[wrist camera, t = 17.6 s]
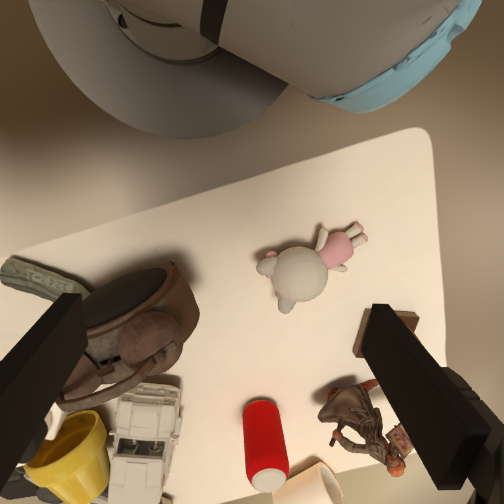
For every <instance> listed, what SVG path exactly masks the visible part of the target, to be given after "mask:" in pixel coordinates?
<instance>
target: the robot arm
mask: <svg viewBox="0 0 504 504" xmlns="http://www.w3.org/2000/svg"><path fill="white" fill-rule="evenodd" d="M104 2H105V5H106V7H107V9H108V11H109V13H110V15H111V17H112V19H113V20H114V22H115V24H116V25H117V26H118V28H119V29H120V31H121V32H122V33H123V34H124V35H125V36H126V38H127V39H128V40H129V41H130V42H131V43H133V44H134V45H135V46H136V47H137V48H139V49H140V50H141V51H143V52H144V53H145V54H147V55H149V56H150V57H152V58H154V59H156V60H159V61H161V62H164V63H168V64H172V65H193V64H198V63H201V62H204V61H206V60H208V59H210V58H212V57H214V56H215V55H217V54H218V53H219V52H221V51H222V50H223V49H225V50H227V51H229V52H231V53H233V54H235V55H237V56H238V57H240V58H242V59H244V60H246V61H248V62H250V63H251V64H253V65H255V66H257V67H259V68H261V69H263V70H264V71H266V72H268V73H270V74H272V75H274V76H276V77H277V78H279V79H281V80H283V81H285V82H287V83H289V84H291V85H292V86H295V87H296V88H298V89H300V90H302V91H303V92H305V93H306V94H307V95H308V96H309V97H311V98H312V99H313V100H318V101H319V102H326V103H329V104H331V105H333V106H335V107H337V108H339V109H342V110H344V111H346V112H350V113H358V114H361V113H367V112H372V111H375V110H378V109H380V108H382V107H384V106H386V105H388V104H390V103H392V102H393V101H395V100H397V99H398V98H400V97H401V96H402V95H404V94H405V93H407V92H408V91H409V90H410V89H412V88H413V87H414V86H415V85H416V84H418V83H419V82H420V81H421V80H422V79H423V78H424V77H425V76H426V75H427V74H428V73H430V72H431V71H432V70H433V69H434V68H435V67H436V65H437V64H438V63H439V62H440V61H441V60H442V59H443V58H444V56H445V55H446V54H447V53H448V52H449V50H450V49H451V44H450V43H451V40H452V39H454V38H455V37H456V36H457V35H458V34H460V33H462V32H463V31H464V30H465V29H466V28H467V26H468V25H469V23H470V22H471V20H472V19H473V17H474V15H475V13H476V12H477V10H478V8H479V6H480V4H481V2H482V0H104ZM88 345H89V344H88V337H87V330H86V322H85V315H84V308H83V300H82V293H62V294H61V295H60V296H59V297H58V299H57V300H56V301H55V302H54V303H53V304H52V305H51V306H50V307H49V309H48V310H47V311H46V312H45V313H44V314H43V315H42V316H41V317H40V318H39V320H38V321H37V322H36V323H35V324H34V325H33V326H32V327H31V328H30V330H29V331H28V332H27V333H26V334H25V335H24V336H23V337H22V338H21V340H20V341H19V342H18V343H17V344H16V345H15V346H14V347H13V348H12V349H11V351H10V352H9V353H8V354H7V355H6V356H5V357H4V358H3V359H2V361H0V493H1V492H2V490H3V488H4V487H5V485H6V483H7V482H8V480H9V478H10V477H11V475H12V473H13V471H14V470H15V468H16V466H17V465H18V463H19V461H20V460H21V458H22V456H23V455H24V453H25V451H26V450H27V448H28V446H29V444H30V443H31V441H32V439H33V438H34V436H35V434H36V433H37V431H38V429H39V428H40V426H41V424H42V423H43V421H44V419H45V417H46V416H47V414H48V412H49V411H50V409H51V407H52V406H53V404H54V402H55V401H56V399H57V397H58V396H59V394H60V392H61V390H62V389H63V387H64V385H65V384H66V382H67V380H68V379H69V377H70V375H71V374H72V372H73V370H74V369H75V367H76V365H77V363H78V362H79V360H80V358H81V357H82V355H83V353H84V352H85V350H86V348H87V347H88ZM360 351H361V353H362V354H363V356H364V358H365V360H366V362H367V363H368V365H369V367H370V369H371V371H372V372H373V374H374V376H375V378H376V380H377V381H378V383H379V385H380V387H381V389H382V390H383V392H384V394H385V396H386V398H387V399H388V401H389V403H390V405H391V407H392V408H393V410H394V412H395V414H396V416H397V417H398V419H399V421H400V423H401V424H402V426H403V428H404V430H405V432H406V433H407V435H408V437H409V439H410V441H411V442H412V444H413V446H414V448H415V450H416V451H417V453H418V455H419V457H420V458H421V460H422V462H423V464H424V466H425V468H426V469H427V471H428V473H429V475H430V476H431V478H432V480H433V482H434V484H435V486H436V487H437V489H438V490H461V488H462V486H463V484H464V482H465V480H466V478H467V477H468V479H469V480H470V482H471V483H472V485H473V487H474V488H475V490H474V492H473V494H472V496H471V497H470V499H469V501H468V503H467V504H504V424H503V423H502V422H501V421H500V420H499V419H498V418H497V416H496V415H495V414H494V413H493V412H492V411H491V410H490V408H489V407H488V406H487V405H486V404H485V403H484V402H483V401H482V400H480V397H479V396H478V395H477V394H476V393H475V391H472V388H471V387H470V386H469V385H468V383H467V382H466V381H465V380H464V379H463V378H462V377H461V376H460V375H458V374H457V373H456V372H454V371H453V370H451V369H450V368H448V367H440V366H439V364H438V363H437V362H436V361H435V360H434V358H433V357H432V356H431V355H430V354H429V352H428V351H427V350H426V349H425V348H424V346H423V345H422V344H421V343H420V342H419V340H418V339H417V338H416V337H415V336H414V334H413V333H412V332H411V331H410V330H409V328H408V327H407V326H406V325H405V324H404V322H403V321H402V320H401V319H400V318H399V316H398V315H397V314H396V313H395V312H394V310H393V309H392V308H391V307H390V306H389V304H372V308H371V312H370V316H369V320H368V323H367V327H366V331H365V335H364V339H363V342H362V346H361V350H360Z"/></svg>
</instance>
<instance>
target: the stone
mask: <svg viewBox="0 0 504 504" xmlns="http://www.w3.org/2000/svg"><path fill="white" fill-rule="evenodd" d="M0 280H1V283H2V284H3V285H5V286H8V287H12V288H14V289H16V290H19V291H23V292H27V293H31V294H34V295H37V296H39V297H41V298H44V299H47V300H50V301H52V302H55V301H56V300H57V299H58V297H59V296H60V295H61V294H62V293H82V300H83V299H85V298H86V297H87V296H89V295H90V294H91V293H90V292H88V291H87V290H86V289H85V288H84V287H83V286H82V285H81V284H79V283H78V282H76V281H74V280H71V279H68V278H67V279H66V278H64V277H62V276H60V275H59V274H57V273H55V272H51V271H48V270H45V269H43V268H41V267H38V266H35V265H34V264H31V263H26V262H23V261H21V260H17V259H14V258H9V259H7V260H6V262H5V263H4V264H3V265H2V267H1V270H0Z"/></svg>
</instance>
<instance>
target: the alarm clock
mask: <svg viewBox="0 0 504 504" xmlns="http://www.w3.org/2000/svg"><path fill="white" fill-rule="evenodd" d="M174 264H175V262H174V261H170V263H169V264H167V265H154V266H148V267H144V268H141V269H138V270H135V271H132V272H130V273H127V274H125V275H123V276H121V277H118V278H116V279H115V280H113V281H111V282H109V283H107V284H105V285H104V286H102V287H100V288H99V289H97V290H96V291H94V292H93V293H91V294H90V295H89V296H87V297H86V298H85V299H83V308H84V315H85V322H86V330H87V337H88V344H89V345H88V347H87V348H86V350H85V352H84V353H83V355H82V357H81V358H80V360H79V362H78V363H77V365H76V367H75V369H74V370H73V372H72V374H71V375H70V377H69V379H68V380H67V382H66V384H65V385H64V387H63V389H62V390H61V392H60V394H59V396H58V397H57V399H56V401H55V403H56V405H57V406H58V407H59V408H60V409H61V411H63V412H68V411H77V410H82V409H85V408H89V407H92V406H95V405H98V404H100V403H103V402H106V401H109V400H111V399H113V398H116V397H118V396H120V395H122V394H124V393H126V392H127V391H129V390H131V389H133V388H135V387H136V386H137V385H139V384H140V383H141V382H142V381H143V380H144V379H145V377H146V376H154V375H159V374H161V373H163V372H166V371H167V370H169V369H170V368H171V367H172V366H173V365H174V364H175V363H176V362H177V361H178V359H179V357H180V355H181V353H182V349H183V343H184V342H185V341H186V340H187V339H188V338H189V336H190V335H191V334H192V332H193V331H194V329H195V327H196V325H197V323H198V320H199V315H200V312H199V308H198V306H197V303H196V301H195V298H194V295H193V292H192V290H191V288H190V286H189V285H188V283H187V282H186V280H185V279H184V277H183V276H182V274H181V273H180V271H179V270H178V268H176V267H175V266H172V265H174ZM112 383H116V384H115V385H113V386H110V387H108V388H105V389H103V390H100V391H97V392H95V393H92V392H94V391H95V390H96V389H97V388H98V387H99V386H100V385H101V384H112ZM91 393H92V394H91Z"/></svg>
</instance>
